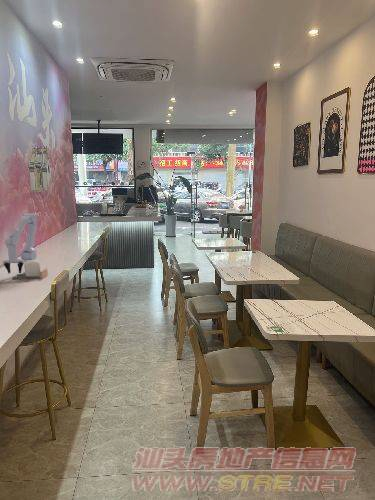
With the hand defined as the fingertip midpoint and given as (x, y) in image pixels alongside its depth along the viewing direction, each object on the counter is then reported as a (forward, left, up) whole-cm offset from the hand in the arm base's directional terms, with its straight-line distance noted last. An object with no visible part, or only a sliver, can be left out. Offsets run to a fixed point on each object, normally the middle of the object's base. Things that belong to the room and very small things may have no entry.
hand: (14, 273), depth 278 cm
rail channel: (0, +10, -3) cm, 10 cm away
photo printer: (-1, +13, -4) cm, 13 cm away
